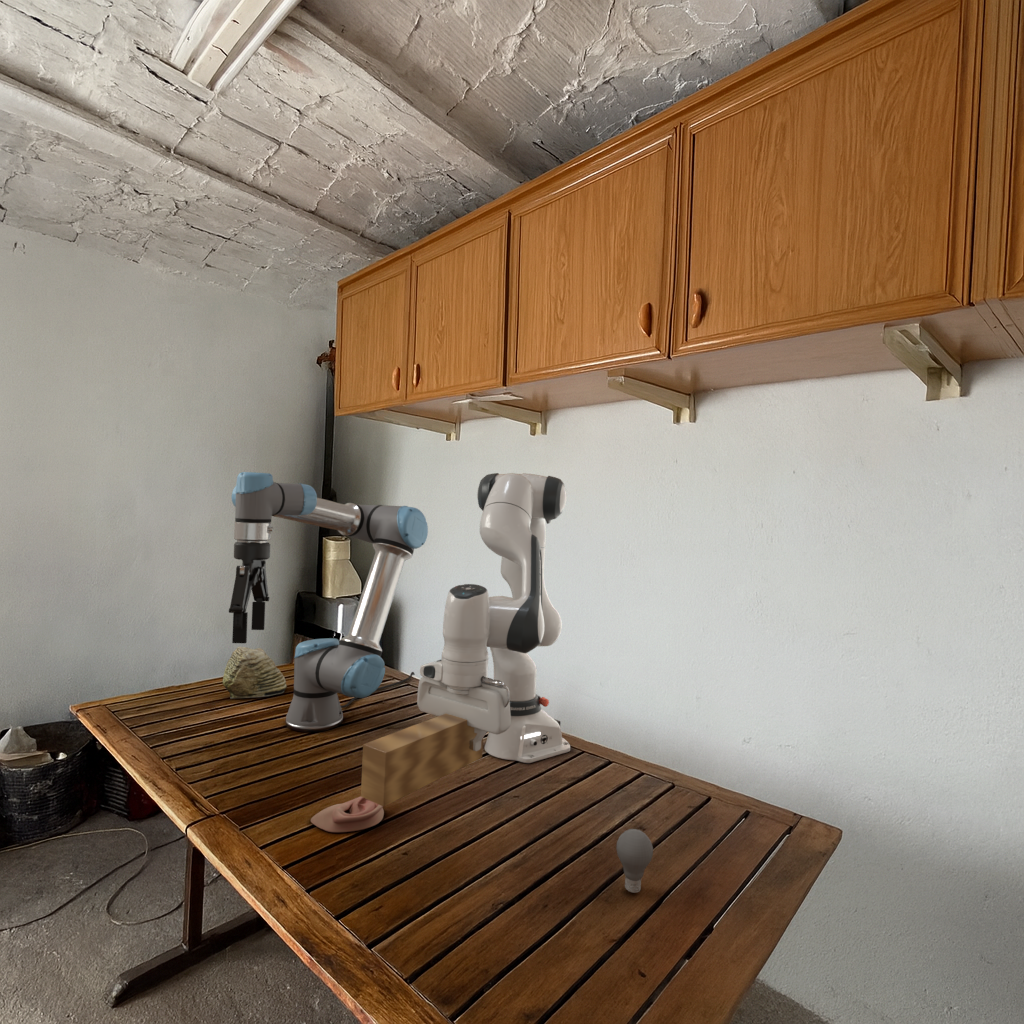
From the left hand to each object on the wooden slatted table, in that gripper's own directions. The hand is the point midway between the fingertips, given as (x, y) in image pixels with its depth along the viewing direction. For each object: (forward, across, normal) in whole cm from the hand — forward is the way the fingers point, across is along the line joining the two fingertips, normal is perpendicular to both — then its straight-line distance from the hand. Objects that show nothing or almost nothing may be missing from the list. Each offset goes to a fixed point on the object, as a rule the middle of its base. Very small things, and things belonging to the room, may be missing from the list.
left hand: (249, 636), depth 142 cm
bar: (+16, -35, -41) cm, 56 cm away
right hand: (+14, -28, -47) cm, 56 cm away
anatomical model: (+31, -20, -26) cm, 46 cm away
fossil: (+31, +58, +14) cm, 67 cm away
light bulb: (+31, -45, -76) cm, 94 cm away
